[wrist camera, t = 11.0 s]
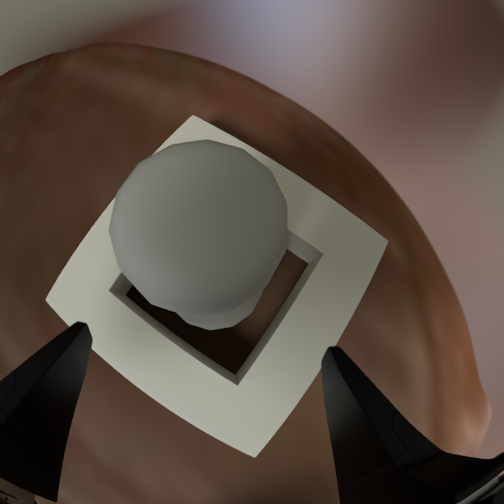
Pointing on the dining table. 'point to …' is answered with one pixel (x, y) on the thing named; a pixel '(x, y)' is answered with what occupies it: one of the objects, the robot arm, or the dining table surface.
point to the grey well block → (271, 343)
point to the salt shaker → (200, 231)
